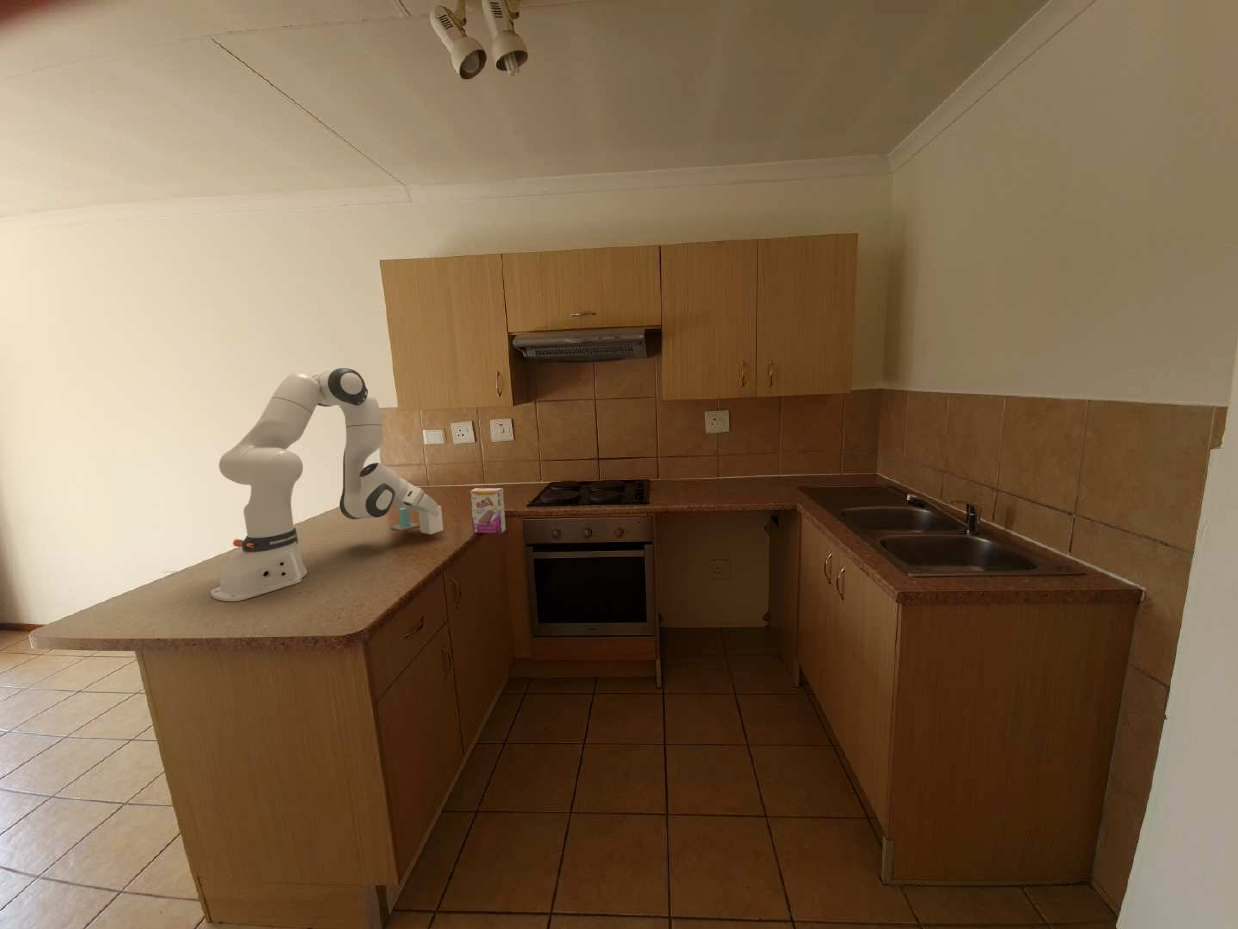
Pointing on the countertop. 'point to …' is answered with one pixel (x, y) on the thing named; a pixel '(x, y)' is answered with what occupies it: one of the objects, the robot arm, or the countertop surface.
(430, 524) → the white tissue box
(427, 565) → the countertop surface
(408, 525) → the post
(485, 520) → the candy bar box
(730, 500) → the countertop surface
